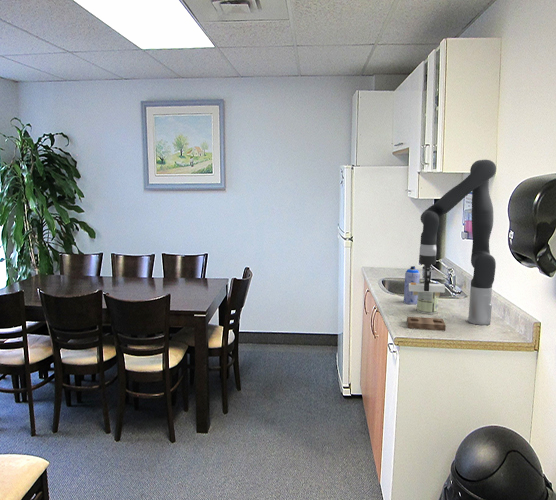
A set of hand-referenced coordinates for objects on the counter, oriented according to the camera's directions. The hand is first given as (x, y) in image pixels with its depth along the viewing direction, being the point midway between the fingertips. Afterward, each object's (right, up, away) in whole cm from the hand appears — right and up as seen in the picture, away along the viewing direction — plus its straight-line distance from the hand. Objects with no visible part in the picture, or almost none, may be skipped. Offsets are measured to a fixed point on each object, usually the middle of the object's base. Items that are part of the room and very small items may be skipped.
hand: (425, 289), depth 226 cm
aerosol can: (+2, -10, +34) cm, 36 cm away
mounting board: (-2, -16, -6) cm, 17 cm away
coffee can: (+6, -13, +18) cm, 23 cm away
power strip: (0, -2, 0) cm, 3 cm away
